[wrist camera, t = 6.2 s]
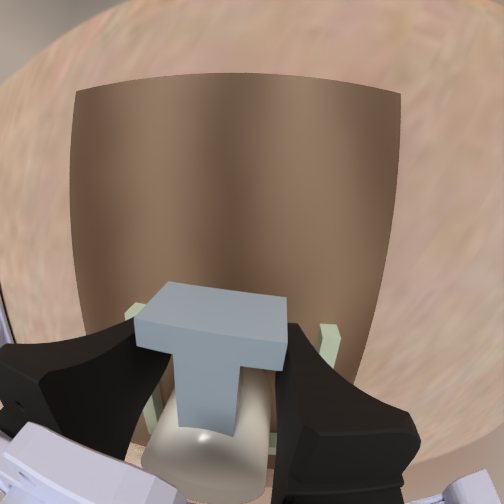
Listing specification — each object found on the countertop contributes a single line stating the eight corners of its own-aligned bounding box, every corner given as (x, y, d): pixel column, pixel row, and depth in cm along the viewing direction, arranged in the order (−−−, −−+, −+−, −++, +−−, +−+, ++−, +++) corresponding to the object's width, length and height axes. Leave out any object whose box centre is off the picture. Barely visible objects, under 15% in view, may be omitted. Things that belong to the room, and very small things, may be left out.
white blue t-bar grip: (265, 424, 15) (257, 510, 9) (182, 410, 15) (150, 489, 9) (292, 278, 12) (300, 365, 7) (178, 263, 13) (108, 332, 7)
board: (121, 431, 18) (118, 437, 17) (85, 94, 12) (76, 91, 11) (318, 461, 17) (318, 469, 16) (394, 97, 11) (400, 93, 10)
